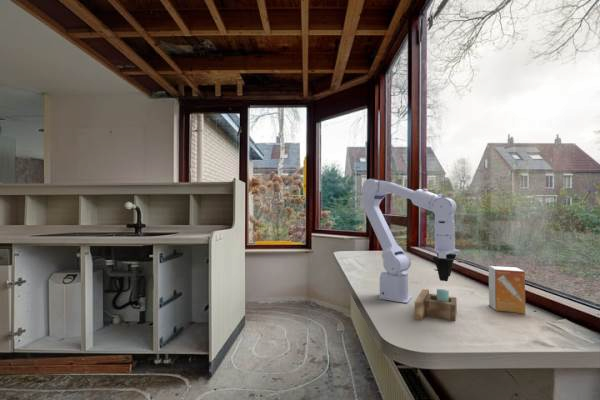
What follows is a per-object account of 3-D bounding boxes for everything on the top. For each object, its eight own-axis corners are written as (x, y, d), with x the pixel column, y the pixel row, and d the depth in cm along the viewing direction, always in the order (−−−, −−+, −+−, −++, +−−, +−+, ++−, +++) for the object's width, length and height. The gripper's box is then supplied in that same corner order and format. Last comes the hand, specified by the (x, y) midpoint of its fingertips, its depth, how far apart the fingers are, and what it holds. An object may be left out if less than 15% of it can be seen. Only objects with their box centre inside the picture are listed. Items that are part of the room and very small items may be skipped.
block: (424, 315, 85) (424, 300, 85) (428, 307, 91) (428, 293, 92) (455, 321, 80) (455, 304, 81) (456, 312, 87) (456, 297, 87)
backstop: (414, 318, 82) (414, 301, 82) (422, 304, 95) (422, 289, 95) (422, 320, 81) (422, 302, 81) (429, 305, 94) (429, 290, 94)
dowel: (436, 314, 85) (436, 291, 85) (437, 311, 88) (437, 288, 88) (448, 316, 84) (448, 292, 84) (449, 313, 86) (448, 290, 87)
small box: (495, 311, 89) (494, 269, 89) (488, 304, 95) (488, 265, 95) (526, 314, 86) (525, 270, 87) (517, 307, 92) (516, 267, 93)
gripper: (457, 237, 82) (457, 285, 82) (460, 234, 94) (461, 275, 94) (430, 236, 86) (431, 281, 85) (437, 233, 98) (437, 272, 98)
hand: (445, 278), depth 90 cm, fingers open, 7 cm apart
